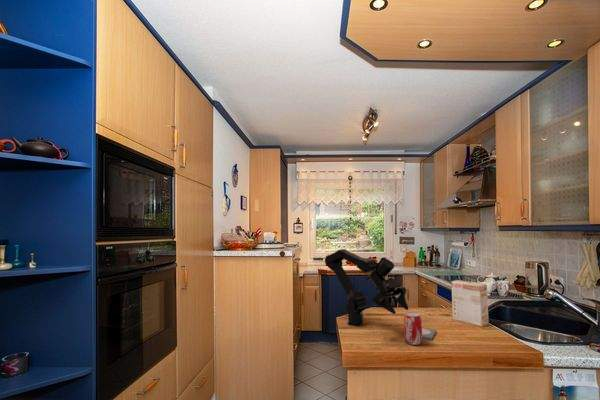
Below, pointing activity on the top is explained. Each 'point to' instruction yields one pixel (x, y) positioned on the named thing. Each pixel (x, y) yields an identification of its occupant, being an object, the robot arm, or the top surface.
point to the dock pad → (427, 333)
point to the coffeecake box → (470, 302)
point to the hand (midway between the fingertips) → (401, 311)
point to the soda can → (413, 328)
